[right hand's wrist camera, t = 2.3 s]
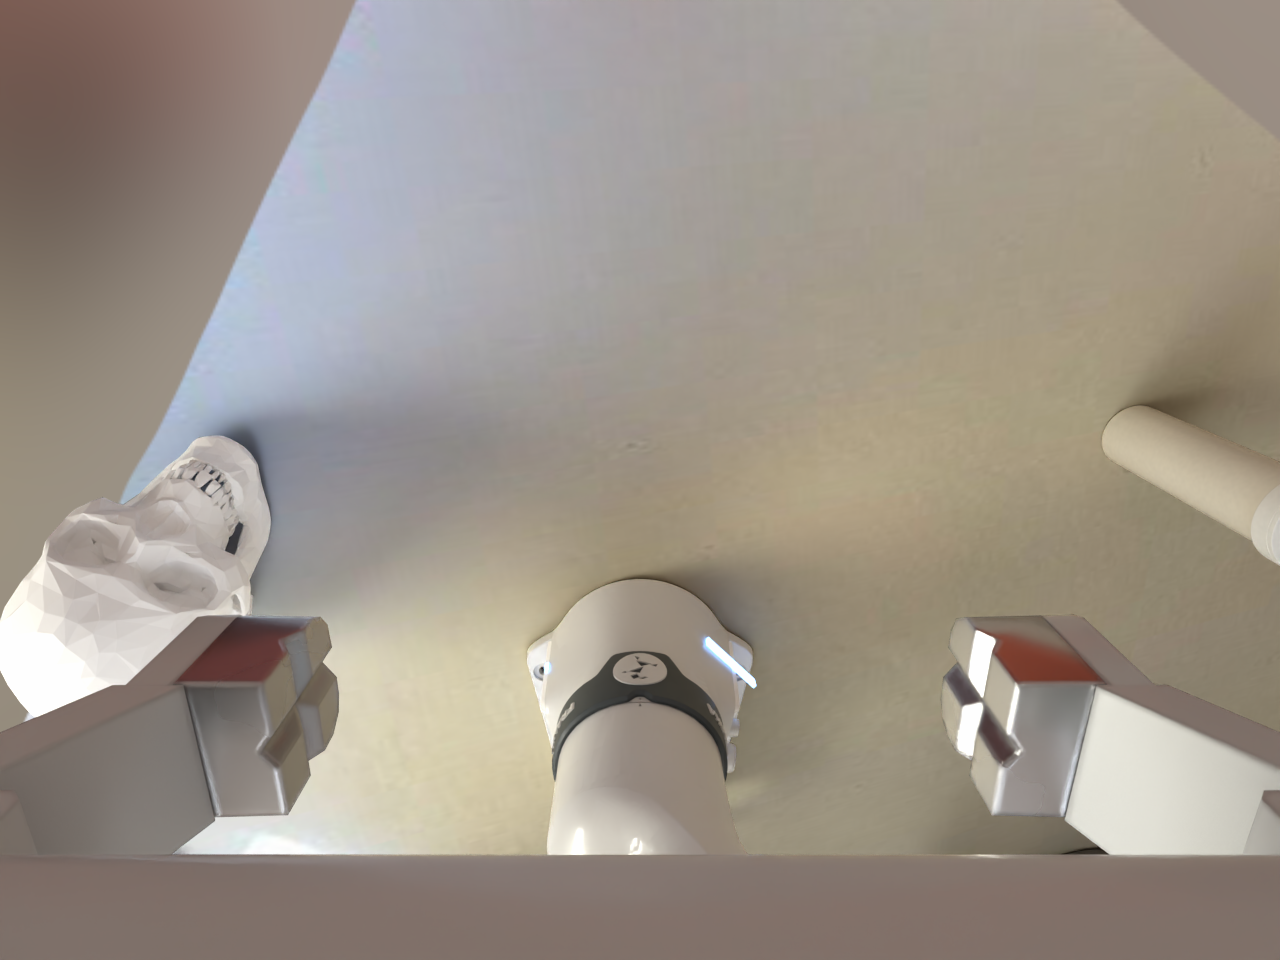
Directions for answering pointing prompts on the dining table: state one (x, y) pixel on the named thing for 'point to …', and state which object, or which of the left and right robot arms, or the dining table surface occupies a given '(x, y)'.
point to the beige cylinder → (1192, 465)
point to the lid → (1268, 526)
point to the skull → (134, 577)
